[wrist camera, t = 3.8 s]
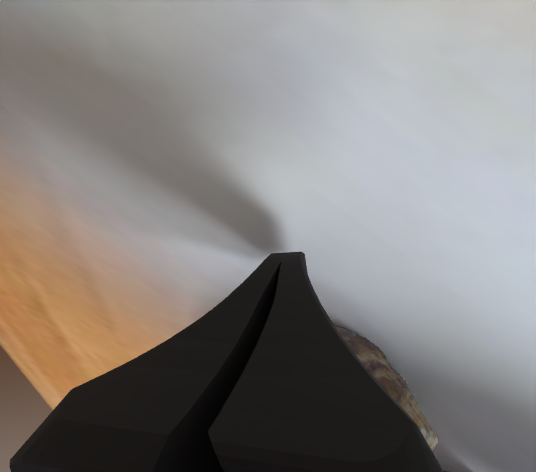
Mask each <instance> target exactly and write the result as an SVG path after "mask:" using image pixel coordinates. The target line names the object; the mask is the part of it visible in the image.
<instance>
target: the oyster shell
mask: <svg viewBox="0 0 536 472" xmlns="http://www.w3.org/2000/svg"><path fill="white" fill-rule="evenodd" d="M335 328H336V329H337V331H338V332H339V333H340V335H341V336H342V338H343V339H344V340H345V341H346V343H347V344H348V345H349V347H350V348H351V349H352V351H353V352H354V353H355V355H356V356H357V357H358V358H359V360H360V361H361V362H362V363H363V365H364V366H365V367H366V368H367V369H368V370H369V372H370V373H371V374H372V375H373V376H374V378H375V379H376V380H377V381H378V382H379V383H380V384H381V386H382V387H383V388H384V389H385V390H386V391H387V392H388V393H389V394H390V395H391V397H392V398H393V399H394V400H395V401H396V402H397V403H398V404H399V405H400V406H401V407H402V408H403V409H404V410H405V412H406V413H407V414H408V415H409V416H410V417H411V418H412V419H413V420H414V421H415V423H416V424H417V426H418V427H419V429H420V431H421V433H422V434H423V436H424V438H425V440H426V441H427V443H428V445H429V447H430V448H431V450H432V451H433V450H434V448H435V447H436V445H437V444H438V438H437V435H436V434H435V432H434V431H433V430H432V429H431V427H430V426H429V425H428V423H427V421H426V419H425V417H424V416H423V414H422V413H421V411H420V410H419V408H418V404H417V402H416V400H415V399H414V397H413V396H412V395H411V393H410V391H409V389H408V387H407V385H406V383H405V381H404V380H403V379H402V378H401V377H400V375H399V374H398V373H396V372H395V371H393V369H392V368H391V367H390V366H389V364H388V363H387V361H386V358H385V356H384V354H383V352H382V351H381V350H380V349H379V348H378V347H376V346H375V345H374V344H373V343H371V342H370V341H369V340H367V339H365V338H363V337H361V336H359V335H358V334H356V333H355V332H352V331H349V330H347V329H344V328H340V327H337V326H335Z"/></svg>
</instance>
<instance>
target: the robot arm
mask: <svg viewBox="0 0 536 472" xmlns="http://www.w3.org/2000/svg"><path fill="white" fill-rule="evenodd" d="M10 469H11V472H443V471H442V469H441V467H440V465H439V463H438V461H437V459H436V458H435V456H434V454H433V452H432V450H431V448H430V447H429V445H428V443H427V441H426V440H425V438H424V436H423V434H422V433H421V431H420V429H419V427H418V426H417V424H416V423H415V421H414V420H413V419H412V418H411V417H410V416H409V415H408V414H407V413H406V412H405V410H404V409H403V408H402V407H401V406H400V405H399V404H398V403H397V402H396V401H395V400H394V399H393V398H392V397H391V395H390V394H389V393H388V392H387V391H386V390H385V389H384V388H383V387H382V386H381V384H380V383H379V382H378V381H377V380H376V379H375V378H374V376H373V375H372V374H371V373H370V372H369V370H368V369H367V368H366V367H365V366H364V365H363V363H362V362H361V361H360V360H359V358H358V357H357V356H356V355H355V353H354V352H353V351H352V349H351V348H350V347H349V345H348V344H347V343H346V341H345V340H344V339H343V338H342V336H341V335H340V333H339V332H338V331H337V329H336V328H335V326H334V325H333V323H332V322H331V320H330V318H329V317H328V315H327V314H326V312H325V310H324V309H323V307H322V305H321V303H320V301H319V299H318V297H317V295H316V293H315V291H314V289H313V287H312V285H311V282H310V280H309V277H308V274H307V268H306V260H305V254H304V253H302V252H289V253H274V254H270V255H269V256H268V257H267V258H266V259H265V260H264V261H263V262H262V263H261V265H260V266H259V267H258V268H257V269H256V270H255V271H254V272H253V273H252V274H251V275H250V276H249V277H248V278H247V279H246V280H245V281H244V282H243V283H242V284H241V285H240V286H239V287H237V288H236V289H235V290H234V291H233V292H232V293H231V294H230V295H229V296H228V297H227V298H225V299H224V300H223V301H222V302H221V303H219V304H218V305H217V306H216V307H215V308H213V309H212V310H211V311H209V312H208V313H207V314H205V315H204V316H203V317H201V318H200V319H199V320H197V321H196V322H194V323H193V324H191V325H190V326H188V327H187V328H185V329H184V330H182V331H180V332H179V333H177V334H176V335H174V336H173V337H171V338H170V339H168V340H166V341H165V342H163V343H161V344H160V345H158V346H156V347H155V348H153V349H151V350H149V351H147V352H146V353H144V354H142V355H140V356H138V357H137V358H135V359H133V360H131V361H129V362H127V363H125V364H123V365H121V366H119V367H117V368H115V369H113V370H111V371H109V372H107V373H105V374H103V375H101V376H99V377H97V378H95V379H92V380H90V381H88V382H86V383H84V384H82V385H80V386H78V387H75V388H73V389H72V390H71V391H70V392H69V393H68V394H67V395H66V396H65V397H64V399H63V400H62V401H61V402H60V403H59V404H58V405H57V407H56V408H55V409H54V410H53V411H52V412H51V414H50V415H49V416H48V417H47V418H46V419H45V420H44V422H43V423H42V424H41V425H40V426H39V427H38V429H37V430H36V431H35V432H34V433H33V434H32V435H31V437H30V438H29V439H28V440H27V441H26V442H25V444H24V445H23V446H22V447H21V448H20V449H19V450H18V451H17V453H16V454H15V455H14V456H13V457H12V458H11V459H10Z"/></svg>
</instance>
